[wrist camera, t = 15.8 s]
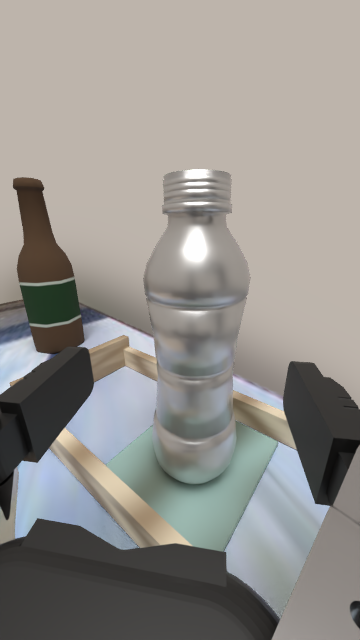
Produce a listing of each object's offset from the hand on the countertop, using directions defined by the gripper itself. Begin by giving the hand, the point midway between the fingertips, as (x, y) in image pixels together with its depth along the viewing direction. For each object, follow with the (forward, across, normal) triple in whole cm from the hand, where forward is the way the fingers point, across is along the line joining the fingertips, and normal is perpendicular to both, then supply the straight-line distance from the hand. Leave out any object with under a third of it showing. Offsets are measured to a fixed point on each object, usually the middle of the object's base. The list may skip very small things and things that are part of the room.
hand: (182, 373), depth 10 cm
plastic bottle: (+6, 0, +12) cm, 14 cm away
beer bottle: (+25, +24, +13) cm, 37 cm away
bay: (+9, +4, +12) cm, 16 cm away
